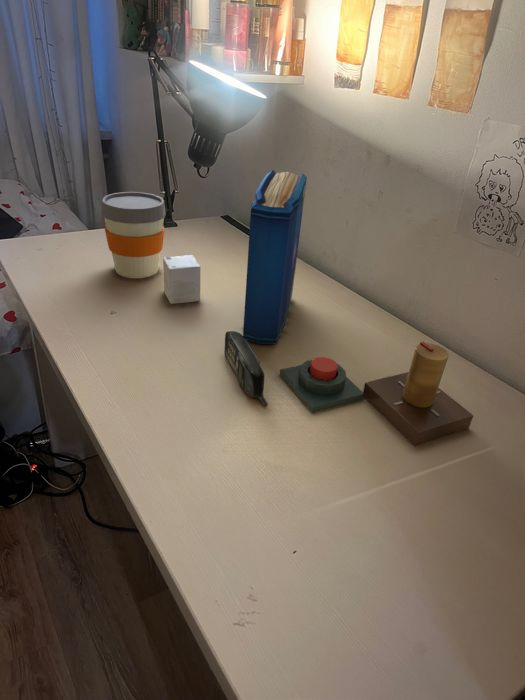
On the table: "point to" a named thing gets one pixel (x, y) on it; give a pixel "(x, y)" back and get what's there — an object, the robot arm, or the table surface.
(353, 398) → the push button base
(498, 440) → the table surface
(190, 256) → the white cardboard box
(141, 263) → the reusable coffee cup
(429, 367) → the lock knob
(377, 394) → the plate
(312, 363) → the bell button
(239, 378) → the mobile phone
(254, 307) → the book
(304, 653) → the table surface
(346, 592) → the table surface
